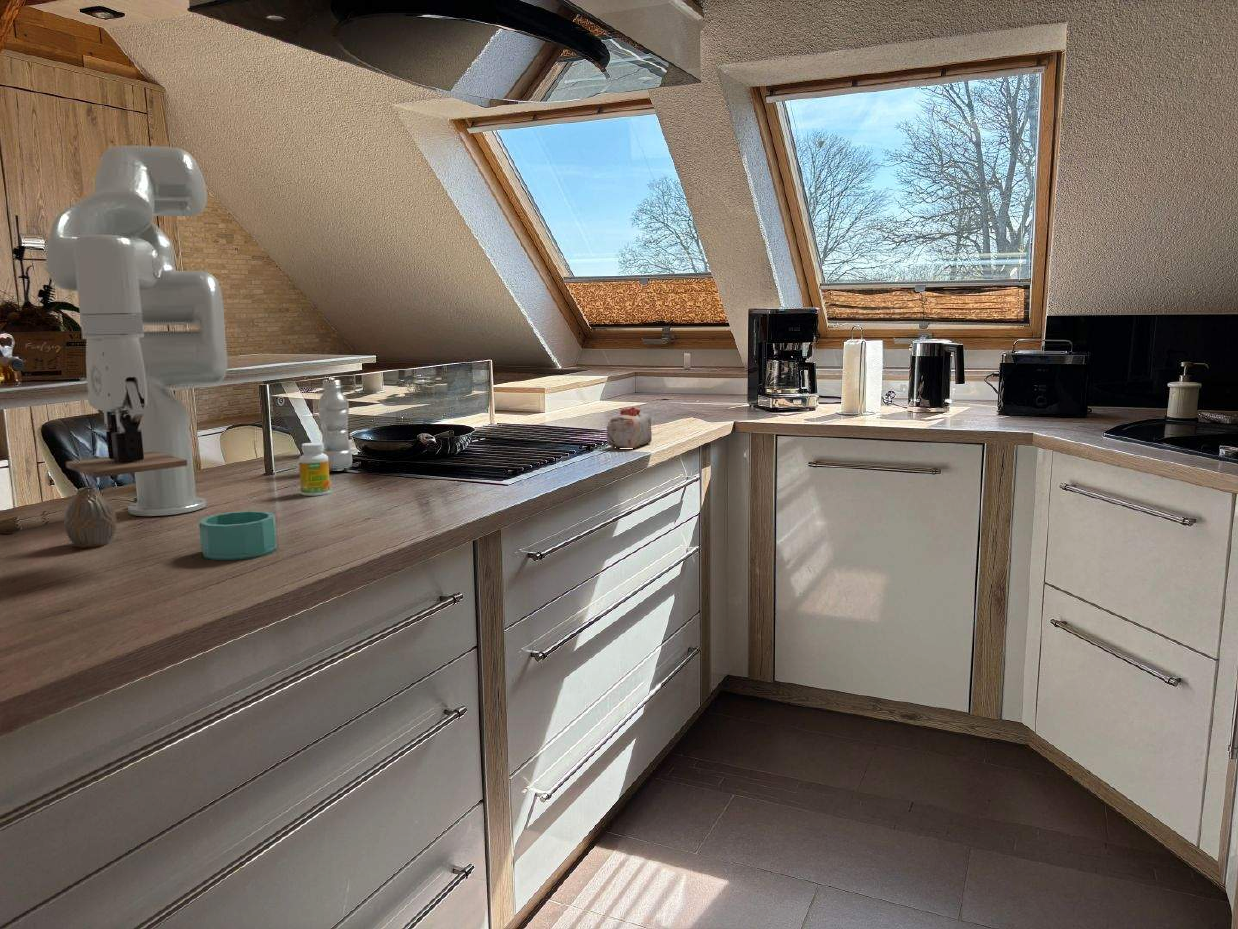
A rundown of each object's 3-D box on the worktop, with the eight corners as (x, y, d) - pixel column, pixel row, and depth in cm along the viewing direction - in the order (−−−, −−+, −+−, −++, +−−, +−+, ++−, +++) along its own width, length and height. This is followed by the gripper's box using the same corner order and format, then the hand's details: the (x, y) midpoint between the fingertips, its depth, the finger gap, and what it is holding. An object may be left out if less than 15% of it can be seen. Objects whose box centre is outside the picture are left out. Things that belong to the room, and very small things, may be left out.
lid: (66, 467, 134) (62, 433, 133) (155, 456, 142) (152, 424, 141) (94, 477, 125) (90, 441, 124) (187, 465, 134) (184, 431, 133)
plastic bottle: (329, 469, 212) (323, 379, 209) (358, 469, 211) (352, 379, 208) (316, 474, 206) (309, 381, 202) (345, 474, 205) (339, 381, 201)
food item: (634, 451, 231) (634, 411, 229) (604, 450, 234) (603, 410, 232) (654, 443, 243) (654, 405, 242) (625, 442, 246) (625, 404, 245)
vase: (126, 538, 149) (121, 483, 147) (104, 549, 142) (98, 492, 140) (82, 539, 148) (75, 484, 147) (57, 550, 142) (51, 493, 140)
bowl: (191, 552, 139) (188, 519, 138) (257, 539, 146) (254, 508, 145) (221, 564, 132) (218, 529, 131) (288, 550, 139) (286, 517, 139)
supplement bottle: (308, 497, 179) (304, 446, 178) (296, 493, 183) (293, 443, 182) (335, 493, 183) (331, 443, 181) (323, 490, 187) (319, 441, 185)
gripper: (63, 327, 133) (78, 456, 136) (103, 329, 122) (118, 470, 125) (120, 326, 139) (133, 450, 142) (164, 327, 127) (177, 462, 130)
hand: (126, 458), depth 133 cm, fingers closed on lid, 3 cm apart
